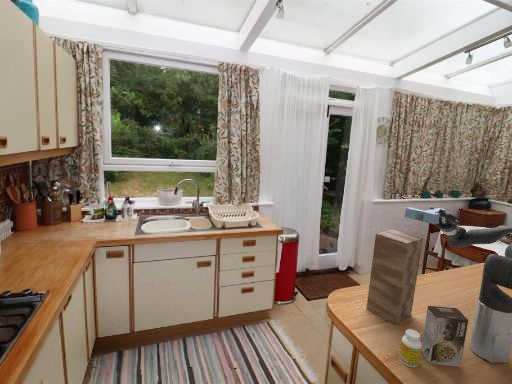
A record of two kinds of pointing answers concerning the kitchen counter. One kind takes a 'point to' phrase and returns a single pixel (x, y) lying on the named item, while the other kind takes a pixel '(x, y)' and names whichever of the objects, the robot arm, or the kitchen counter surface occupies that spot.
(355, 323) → the kitchen counter surface
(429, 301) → the kitchen counter surface
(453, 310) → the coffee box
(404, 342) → the supplement bottle
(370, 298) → the pedestal
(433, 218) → the t bar
